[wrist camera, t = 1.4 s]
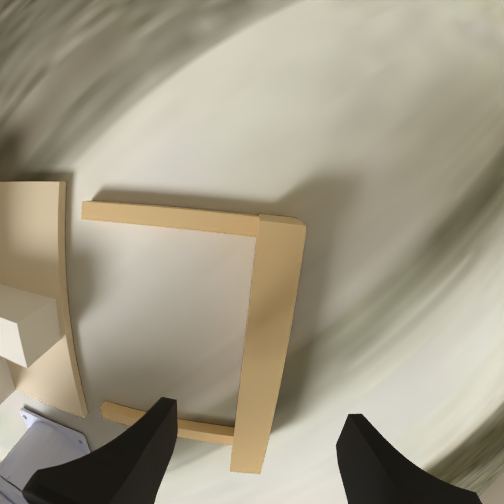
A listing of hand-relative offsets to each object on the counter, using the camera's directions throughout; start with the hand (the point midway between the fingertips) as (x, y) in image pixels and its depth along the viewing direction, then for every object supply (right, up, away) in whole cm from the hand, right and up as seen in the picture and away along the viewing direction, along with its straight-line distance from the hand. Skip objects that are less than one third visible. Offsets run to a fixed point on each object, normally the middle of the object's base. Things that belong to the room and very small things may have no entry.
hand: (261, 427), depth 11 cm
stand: (-20, +4, +7) cm, 22 cm away
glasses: (-5, +2, +7) cm, 8 cm away
